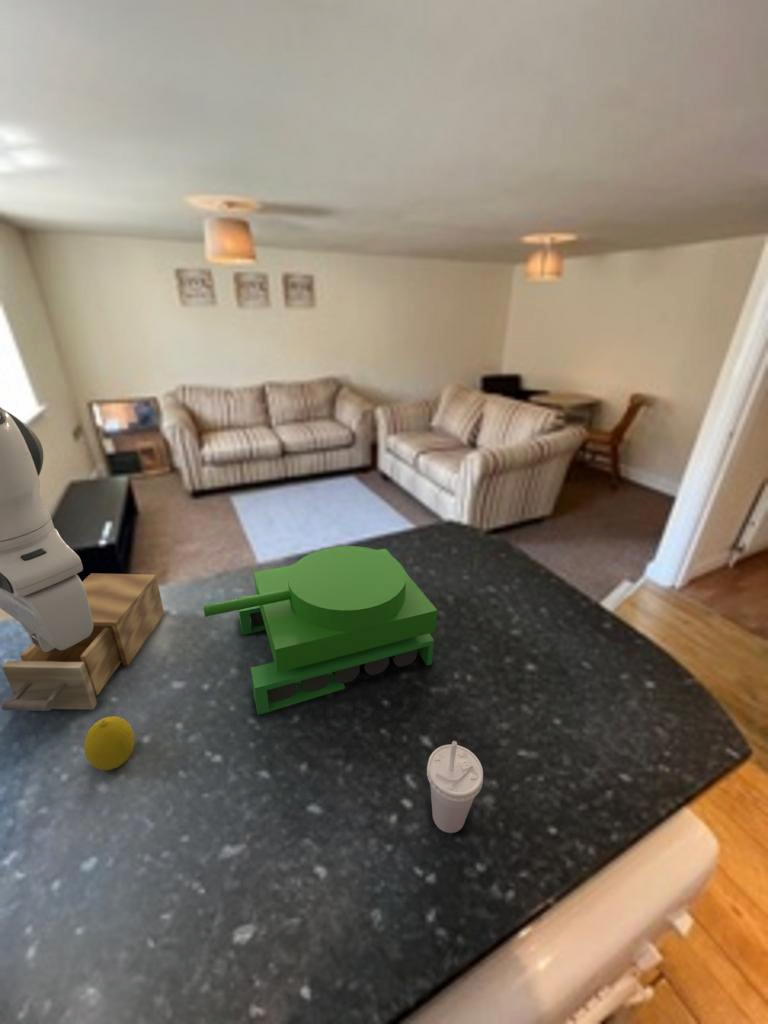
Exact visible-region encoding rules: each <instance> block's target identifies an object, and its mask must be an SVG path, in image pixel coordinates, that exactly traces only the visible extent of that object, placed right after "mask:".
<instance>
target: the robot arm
mask: <svg viewBox="0 0 768 1024" xmlns="http://www.w3.org/2000/svg"><path fill="white" fill-rule="evenodd" d="M43 465H44V449H43V445H42V443H41V440H40V439H39V437H38V436H37V434H36V432H34V430H32V429H31V428H30V426H29V425H27V424H26V423H25V422H23V421H22V420H21V419H19V418H18V417H17V416H15V415H14V414H12V413H10V412H9V411H8V410H6V409H4V408H2V407H1V406H0V610H2V611H3V612H5V613H6V614H7V615H9V616H10V617H12V618H13V619H14V620H16V621H18V623H20V625H21V627H23V629H24V630H25V632H26V633H27V635H28V637H29V639H30V642H31V644H34V645H36V646H37V647H39V648H40V649H41V650H42V651H44V652H48V651H50V650H52V649H54V648H57V649H58V650H65V649H67V648H69V647H71V646H73V645H75V644H77V643H78V642H80V641H82V640H84V639H85V638H87V637H89V636H90V635H91V633H92V630H93V619H92V615H91V610H90V606H89V602H88V598H87V594H86V591H85V588H84V585H83V583H82V582H83V581H82V579H81V578H80V576H79V575H78V574H79V573H81V572H83V570H84V567H83V563H82V560H81V558H80V556H79V555H78V554H77V552H75V551H74V549H72V548H71V546H69V545H68V544H67V543H66V542H65V540H64V539H63V538H62V536H61V535H60V533H59V531H58V529H57V528H55V525H54V522H53V519H52V516H51V513H50V511H49V509H48V508H47V507H46V505H45V504H44V503H43V501H42V498H41V493H40V487H41V482H40V478H39V476H40V474H41V473H42V470H43Z"/></svg>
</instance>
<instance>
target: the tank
mask: <svg viewBox="0 0 768 1024" xmlns="http://www.w3.org/2000/svg"><path fill="white" fill-rule="evenodd" d="M253 579H254V587H255V589H254V590H255V594H251V595H247V596H246V595H245V596H241V597H236V599H230V600H226V601H220V602H215V603H211V604H205V605H203V613H204V617H205V618H206V617H211V616H215V615H220V614H225V613H231V612H235V611H238V618H239V626H240V630H241V635H242V636H245V635H246V636H247V635H249V634H253V633H254V634H255V633H258V632H262V631H265V632H266V634H267V639H268V642H269V647H270V650H271V651H270V652H271V655H272V659H273V661H271V662H268V663H264V664H259V665H256V666H252V667H250V675H251V684H252V692H253V698H254V704H255V708H256V713H257V716H260V715H263V714H266V713H267V714H268V713H270V712H273V711H276V710H279V709H283V708H285V707H289V706H293V705H295V704H299V703H302V702H303V703H304V702H307V701H309V700H312V699H316V698H319V697H323V696H326V695H328V694H332V693H335V692H339V691H342V690H345V689H346V687H345V684H346V683H350V682H353V681H354V680H355V679H357V678H358V676H359V674H360V672H361V667H360V666H361V665H362V667H363V669H364V671H365V672H366V674H368V675H370V676H374V675H377V674H381V673H383V672H384V671H385V670H387V669H388V666H389V665H390V659H391V660H392V661H393V663H394V664H395V666H396V667H400V668H401V667H406V666H409V665H411V664H412V663H414V661H415V660H416V659H417V657H418V655H419V656H420V658H421V659H422V660H423V662H424V664H425V665H426V667H428V666H430V665H433V657H434V648H435V647H434V646H435V645H434V644H435V639H434V637H432V635H431V634H432V633H435V632H436V629H437V619H438V609H437V608H436V607H435V606H434V604H433V603H432V602H431V601H430V599H429V598H428V597H427V596H426V595H425V594H424V592H423V591H422V590H421V589H420V588H419V587H418V585H417V584H416V583H415V581H414V580H413V579H412V578H411V576H410V575H408V573H407V572H406V570H405V568H404V567H403V565H402V564H401V562H399V561H398V560H397V558H395V557H394V556H393V555H392V554H391V553H390V551H388V549H387V548H381V549H374V548H371V547H366V546H359V545H358V546H357V545H340V546H330V547H326V548H322V549H318V550H316V551H312V552H310V553H308V554H307V555H304V556H303V557H302V558H299V560H297V561H296V562H295V563H294V564H289V565H283V566H278V567H273V568H267V569H262V570H261V569H260V570H256V571H253Z"/></svg>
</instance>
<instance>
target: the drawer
mask: <svg viewBox="0 0 768 1024" xmlns="http://www.w3.org/2000/svg"><path fill="white" fill-rule="evenodd" d="M20 659H21V660H7V661H6V662H5V663H4V664H3V665H2V666H1V668H2V671H3V674H4V675H5V678H6V680H7V682H8V685H9V687H10V690H11V692H12V694H13V696H12V697H11V698H7V699H5V700H4V701H3V702H2V704H1V710H3V711H23V712H27V711H29V712H30V711H34V712H49V711H51V710H94V709H95V707H96V706H97V705H98V701H97V698H96V696H98V695H99V694H100V692H101V691H102V690H103V688H104V687H105V686H106V684H107V683H108V681H109V680H110V679H111V677H112V676H113V675H114V673H115V672H116V671H117V669H118V668H119V667H120V666H121V664H122V660H121V656H120V652H119V649H118V645H117V642H116V638H115V634H114V631H113V627H112V626H93V630H92V633H91V635H90V636H89V637H87V638H85V639H84V640H82V641H80V642H78V643H77V644H75V645H73V646H71V647H69V648H67V649H65V650H58V649H57V648H54V649H52V650H50V651H48V652H44V651H42V650H41V649H40V648H39V647H37V646H36V645H34V644H33V643H31V644H30V645H29V647H27V648H26V649H25V650H24V651H23V652H22V653H21V654H20Z"/></svg>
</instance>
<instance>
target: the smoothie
mask: <svg viewBox="0 0 768 1024" xmlns="http://www.w3.org/2000/svg"><path fill="white" fill-rule="evenodd" d="M426 776H427V779H428V782H429V786H430V802H431V813H432V816H431V817H432V820H433V822H434V824H435V826H436V827H437V828H438V829H439V830H441V831H442V832H444V833H448V834H455V833H457V832H459V831H461V829H463V827H464V825H465V822H466V820H467V818H468V814H469V812H470V809H471V807H472V804H473V802H474V800H475V797H476V796H477V795H479V793H480V791H481V789H482V788H483V782H484V770H483V766H482V763H481V761H480V760H479V759H478V757H477V755H475V753H473V752H472V751H471V750H469V749H468V748H466V747H464V746H461V745H458V742H457V741H456V740H453V741H452V742H451V744H444V745H441V746H439V747H437V748H436V749H434V750H433V751H432V753H430V755H429V758H428V760H427V766H426Z"/></svg>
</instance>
